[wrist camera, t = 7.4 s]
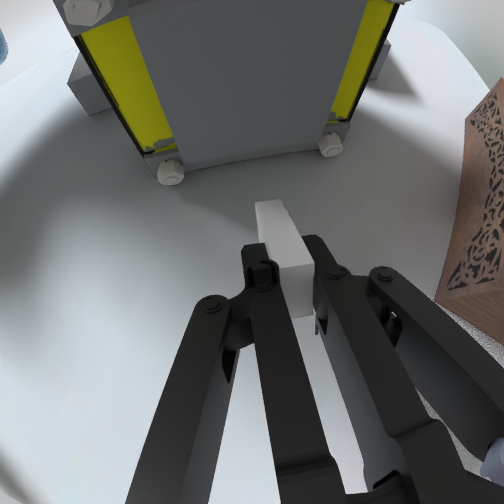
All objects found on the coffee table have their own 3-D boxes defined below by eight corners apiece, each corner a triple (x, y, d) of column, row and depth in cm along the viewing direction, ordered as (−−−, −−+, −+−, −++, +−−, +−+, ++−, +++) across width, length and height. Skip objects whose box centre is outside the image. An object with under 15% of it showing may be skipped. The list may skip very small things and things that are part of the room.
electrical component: (155, 196, 24) (27, 1, 4) (151, 112, 26) (85, -51, 7) (347, 161, 25) (444, -28, 5) (313, 85, 27) (350, -77, 7)
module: (89, 115, 26) (66, 83, 20) (105, 57, 29) (91, 28, 23) (127, 103, 26) (108, 67, 21) (137, 47, 29) (126, 15, 23)
